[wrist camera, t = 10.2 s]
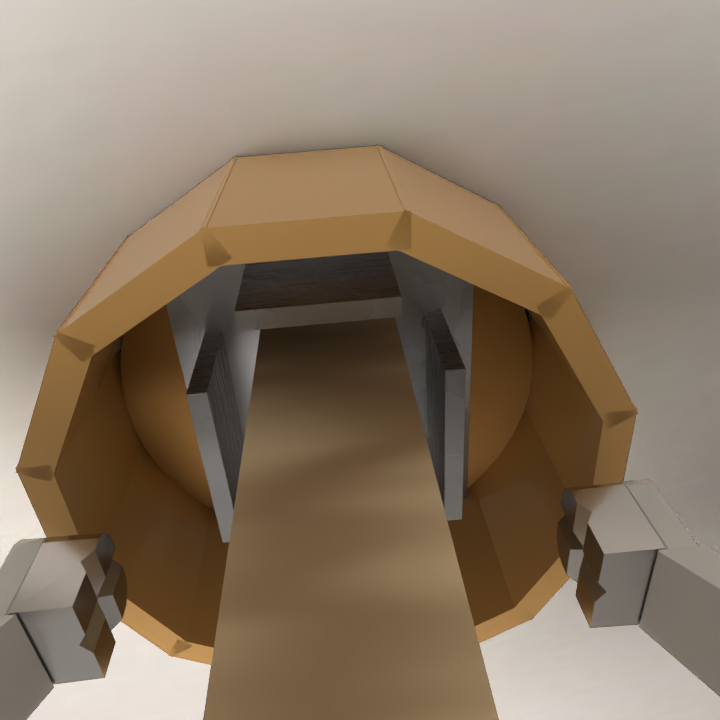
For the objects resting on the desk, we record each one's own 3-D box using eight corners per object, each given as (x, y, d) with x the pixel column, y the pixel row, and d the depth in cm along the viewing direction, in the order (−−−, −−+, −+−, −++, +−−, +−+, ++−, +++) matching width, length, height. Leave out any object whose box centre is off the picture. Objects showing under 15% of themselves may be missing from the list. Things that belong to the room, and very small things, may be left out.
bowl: (574, 127, 13) (683, 185, 9) (533, 517, 19) (590, 653, 15) (34, 172, 13) (-84, 251, 9) (159, 554, 19) (119, 702, 15)
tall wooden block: (393, 312, 14) (521, 808, 6) (400, 465, 16) (497, 982, 8) (261, 324, 14) (184, 845, 6) (286, 477, 16) (260, 1011, 8)
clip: (473, 203, 13) (508, 248, 11) (464, 509, 18) (488, 587, 15) (150, 230, 13) (115, 282, 11) (224, 532, 18) (211, 615, 15)
